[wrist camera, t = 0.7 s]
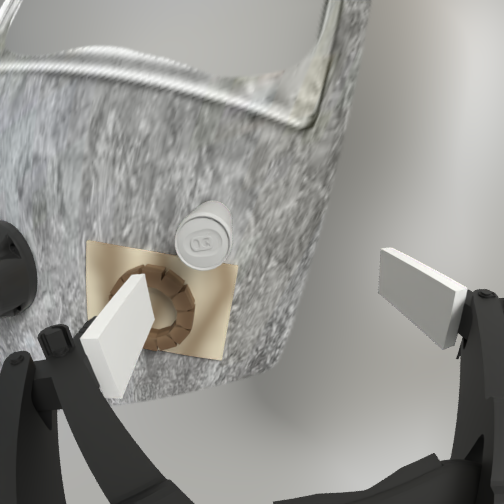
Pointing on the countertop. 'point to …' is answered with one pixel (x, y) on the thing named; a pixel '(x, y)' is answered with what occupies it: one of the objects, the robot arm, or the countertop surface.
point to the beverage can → (205, 236)
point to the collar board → (166, 296)
